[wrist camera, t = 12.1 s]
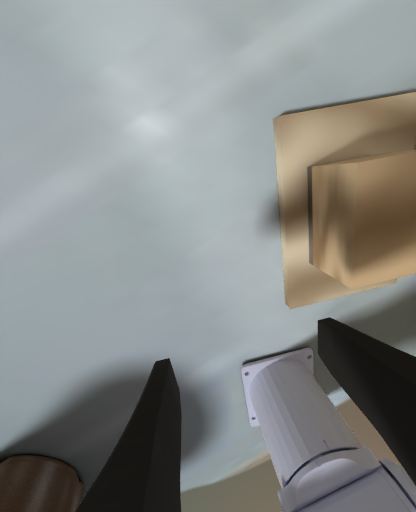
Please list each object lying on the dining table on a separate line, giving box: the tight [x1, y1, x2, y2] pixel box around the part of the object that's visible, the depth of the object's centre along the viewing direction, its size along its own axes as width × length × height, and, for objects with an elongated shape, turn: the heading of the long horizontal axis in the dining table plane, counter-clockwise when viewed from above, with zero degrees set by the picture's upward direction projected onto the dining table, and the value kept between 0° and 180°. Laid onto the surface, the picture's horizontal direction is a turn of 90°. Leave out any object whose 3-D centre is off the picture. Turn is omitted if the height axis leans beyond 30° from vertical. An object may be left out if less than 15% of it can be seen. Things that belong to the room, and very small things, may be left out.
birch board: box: [273, 92, 416, 309], centre depth 19 cm, size 16×11×1 cm
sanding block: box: [307, 149, 416, 289], centre depth 16 cm, size 8×5×5 cm, turn 10°
